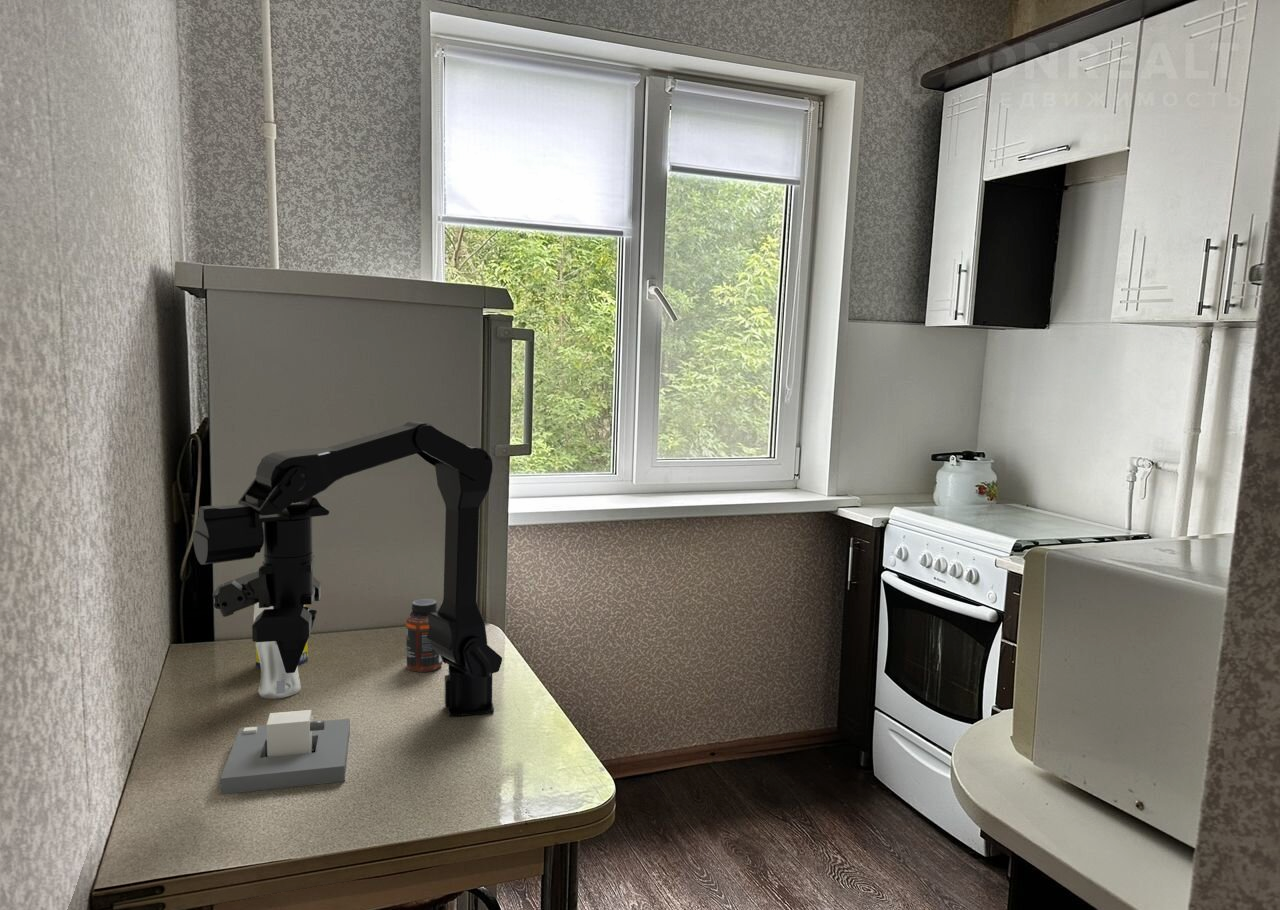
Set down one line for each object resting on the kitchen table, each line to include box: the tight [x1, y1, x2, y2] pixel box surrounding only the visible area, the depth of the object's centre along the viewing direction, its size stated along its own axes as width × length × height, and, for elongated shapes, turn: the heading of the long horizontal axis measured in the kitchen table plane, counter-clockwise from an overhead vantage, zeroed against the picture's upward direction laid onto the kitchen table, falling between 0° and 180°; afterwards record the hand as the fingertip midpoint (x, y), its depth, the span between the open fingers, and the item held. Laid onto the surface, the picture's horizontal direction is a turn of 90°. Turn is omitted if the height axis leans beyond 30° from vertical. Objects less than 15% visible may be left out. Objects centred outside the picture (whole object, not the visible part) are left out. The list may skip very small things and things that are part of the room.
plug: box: [266, 709, 325, 757], centre depth 110 cm, size 7×4×6 cm, turn 106°
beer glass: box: [253, 602, 302, 700], centre depth 131 cm, size 7×7×15 cm
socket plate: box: [219, 718, 351, 795], centre depth 110 cm, size 14×14×2 cm
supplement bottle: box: [405, 598, 443, 673], centre depth 143 cm, size 6×6×11 cm
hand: (290, 671), depth 109 cm, fingers closed
